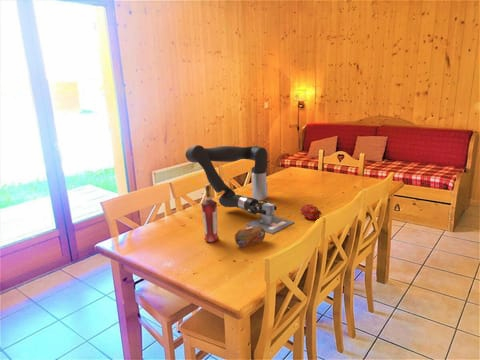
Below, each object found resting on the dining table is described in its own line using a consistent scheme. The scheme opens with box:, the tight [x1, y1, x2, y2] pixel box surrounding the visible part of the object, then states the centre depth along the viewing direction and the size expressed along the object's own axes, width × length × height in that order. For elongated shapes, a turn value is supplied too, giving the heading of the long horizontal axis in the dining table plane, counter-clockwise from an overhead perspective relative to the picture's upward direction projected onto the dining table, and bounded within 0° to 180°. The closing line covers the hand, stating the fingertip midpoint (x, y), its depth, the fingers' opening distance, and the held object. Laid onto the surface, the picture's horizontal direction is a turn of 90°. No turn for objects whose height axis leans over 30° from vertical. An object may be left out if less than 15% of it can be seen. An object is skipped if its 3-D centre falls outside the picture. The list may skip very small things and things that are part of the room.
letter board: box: [245, 215, 295, 235], centre depth 194 cm, size 18×18×1 cm
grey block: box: [261, 202, 275, 225], centre depth 193 cm, size 4×4×10 cm
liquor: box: [201, 183, 219, 243], centre depth 174 cm, size 7×7×28 cm
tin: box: [234, 225, 266, 248], centre depth 171 cm, size 15×3×8 cm, turn 117°
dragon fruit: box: [300, 203, 323, 221], centre depth 198 cm, size 8×8×12 cm
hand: (271, 210), depth 191 cm, fingers open, 8 cm apart
